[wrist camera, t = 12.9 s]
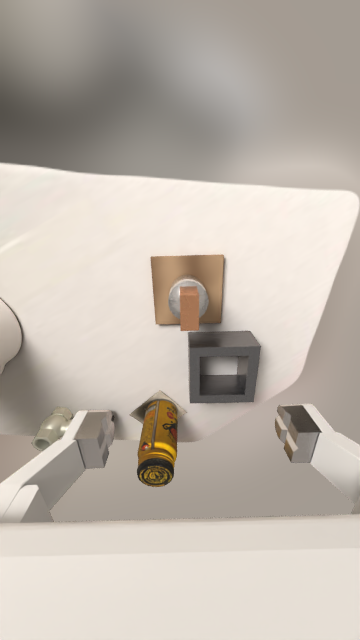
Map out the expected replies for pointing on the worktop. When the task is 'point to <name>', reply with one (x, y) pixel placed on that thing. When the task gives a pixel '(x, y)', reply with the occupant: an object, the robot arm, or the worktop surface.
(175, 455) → the condiment
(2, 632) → the robot arm
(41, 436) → the valve
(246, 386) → the housing
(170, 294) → the plug
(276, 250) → the worktop surface
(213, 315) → the board
